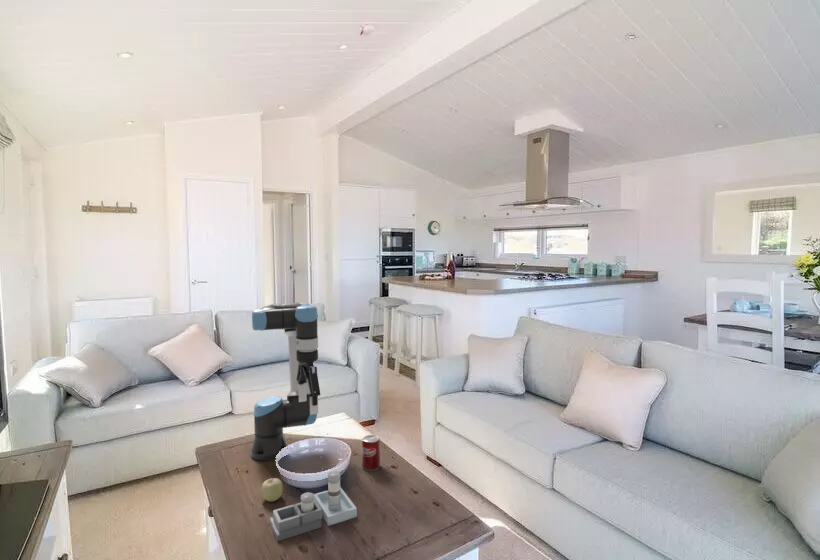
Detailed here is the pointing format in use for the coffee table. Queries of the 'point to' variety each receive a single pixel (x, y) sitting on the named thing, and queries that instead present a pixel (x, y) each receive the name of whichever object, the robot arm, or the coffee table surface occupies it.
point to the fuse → (334, 491)
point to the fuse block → (296, 518)
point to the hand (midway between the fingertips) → (308, 407)
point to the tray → (342, 514)
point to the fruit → (272, 489)
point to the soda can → (371, 452)
